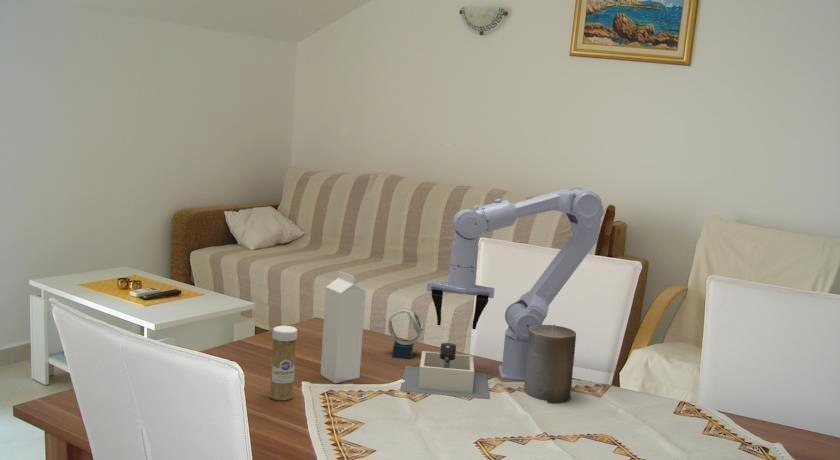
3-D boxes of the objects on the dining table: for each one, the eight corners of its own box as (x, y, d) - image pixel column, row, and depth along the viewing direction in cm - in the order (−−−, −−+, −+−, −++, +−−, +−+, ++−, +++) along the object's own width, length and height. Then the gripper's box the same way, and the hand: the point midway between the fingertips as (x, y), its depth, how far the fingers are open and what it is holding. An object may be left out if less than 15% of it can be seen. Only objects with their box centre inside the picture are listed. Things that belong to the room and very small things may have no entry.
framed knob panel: (471, 375, 160) (472, 355, 159) (472, 393, 149) (474, 371, 148) (420, 370, 160) (422, 350, 159) (418, 388, 149) (419, 366, 148)
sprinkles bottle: (275, 402, 136) (279, 332, 135) (265, 394, 140) (268, 326, 138) (297, 399, 139) (301, 330, 137) (286, 391, 143) (290, 323, 141)
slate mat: (486, 374, 162) (486, 373, 162) (490, 401, 146) (490, 399, 146) (405, 367, 163) (405, 365, 163) (399, 392, 147) (399, 390, 147)
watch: (419, 361, 168) (423, 314, 166) (384, 358, 168) (388, 311, 167) (421, 354, 173) (424, 309, 172) (387, 351, 174) (390, 305, 172)
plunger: (465, 373, 158) (468, 341, 157) (466, 386, 150) (469, 353, 149) (426, 369, 159) (428, 337, 158) (424, 382, 150) (427, 349, 149)
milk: (334, 384, 149) (341, 277, 146) (320, 374, 154) (325, 271, 151) (360, 379, 153) (367, 275, 150) (345, 370, 157) (351, 269, 154)
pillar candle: (576, 394, 154) (583, 324, 153) (560, 406, 146) (567, 333, 144) (533, 383, 159) (539, 316, 157) (515, 395, 151) (521, 324, 149)
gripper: (429, 264, 155) (422, 327, 157) (497, 272, 155) (490, 334, 157) (430, 259, 162) (424, 319, 164) (495, 266, 162) (488, 326, 164)
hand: (456, 326), depth 161 cm, fingers open, 7 cm apart
